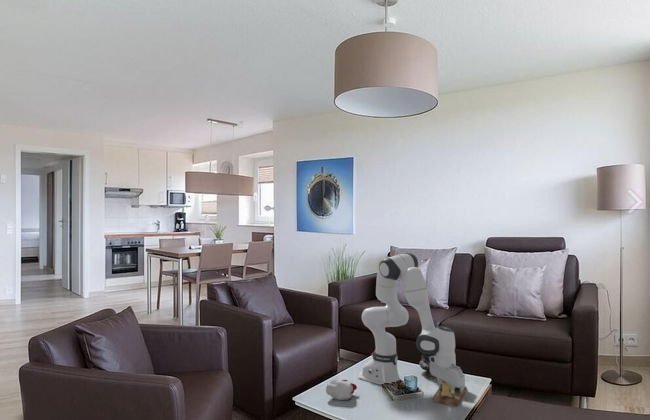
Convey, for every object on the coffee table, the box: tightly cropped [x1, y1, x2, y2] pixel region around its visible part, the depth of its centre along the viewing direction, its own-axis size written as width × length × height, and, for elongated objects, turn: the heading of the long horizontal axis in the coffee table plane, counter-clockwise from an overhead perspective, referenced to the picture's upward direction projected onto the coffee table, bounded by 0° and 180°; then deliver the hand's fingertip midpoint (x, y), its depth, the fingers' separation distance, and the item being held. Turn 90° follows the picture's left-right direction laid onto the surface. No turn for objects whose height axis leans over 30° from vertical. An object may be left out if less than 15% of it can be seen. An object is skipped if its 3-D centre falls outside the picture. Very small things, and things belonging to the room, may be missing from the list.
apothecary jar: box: [419, 350, 437, 379], centre depth 233 cm, size 12×12×18 cm
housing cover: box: [438, 373, 466, 393], centre depth 210 cm, size 11×9×6 cm
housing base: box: [431, 385, 467, 407], centre depth 206 cm, size 12×22×4 cm, turn 151°
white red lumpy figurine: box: [325, 378, 358, 401], centre depth 205 cm, size 9×11×15 cm
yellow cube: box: [442, 382, 451, 396], centre depth 201 cm, size 4×4×4 cm
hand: (446, 390), depth 201 cm, fingers closed on yellow cube, 6 cm apart
